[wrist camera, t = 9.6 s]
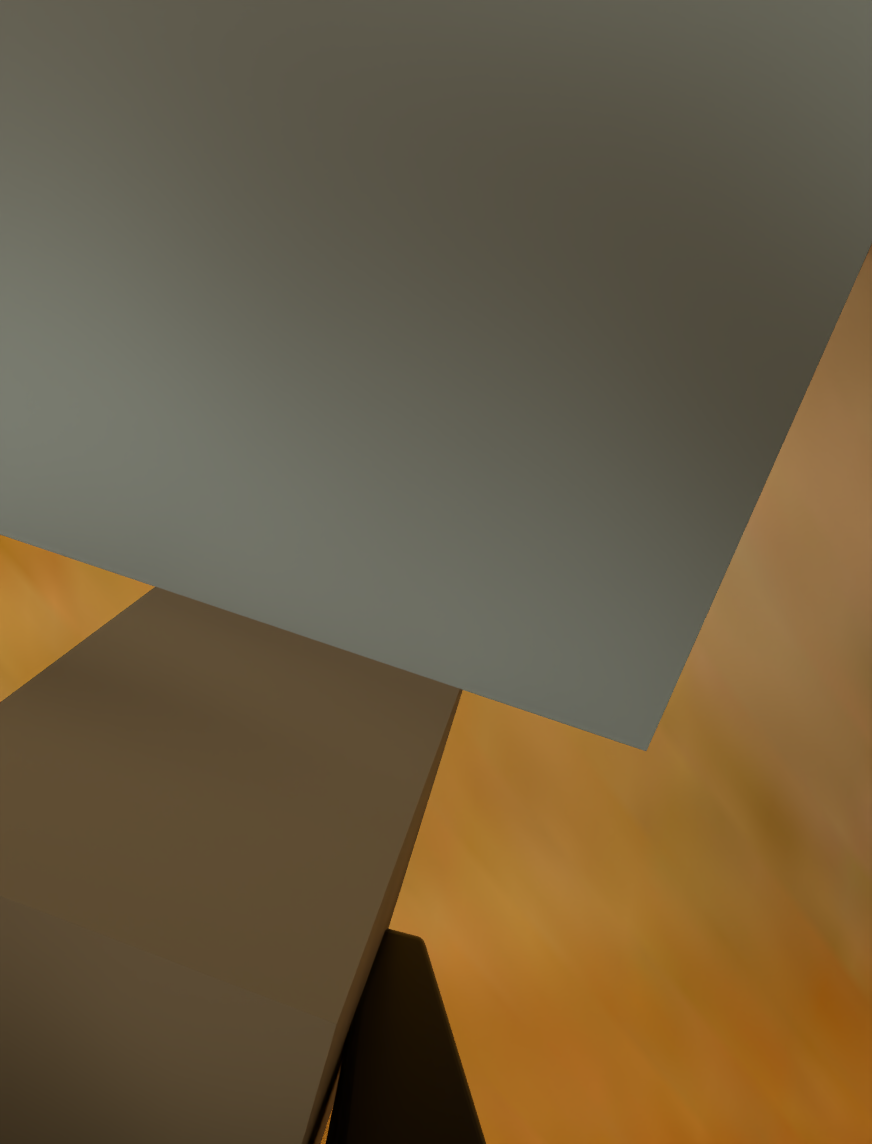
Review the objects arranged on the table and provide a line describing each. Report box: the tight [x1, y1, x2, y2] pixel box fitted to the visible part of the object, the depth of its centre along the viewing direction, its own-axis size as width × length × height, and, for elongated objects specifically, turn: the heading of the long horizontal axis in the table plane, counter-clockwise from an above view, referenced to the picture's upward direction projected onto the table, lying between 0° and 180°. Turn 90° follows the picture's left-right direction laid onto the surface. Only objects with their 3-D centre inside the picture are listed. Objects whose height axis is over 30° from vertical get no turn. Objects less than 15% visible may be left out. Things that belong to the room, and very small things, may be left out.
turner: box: [0, 0, 872, 1144], centre depth 6 cm, size 13×6×4 cm, turn 164°
